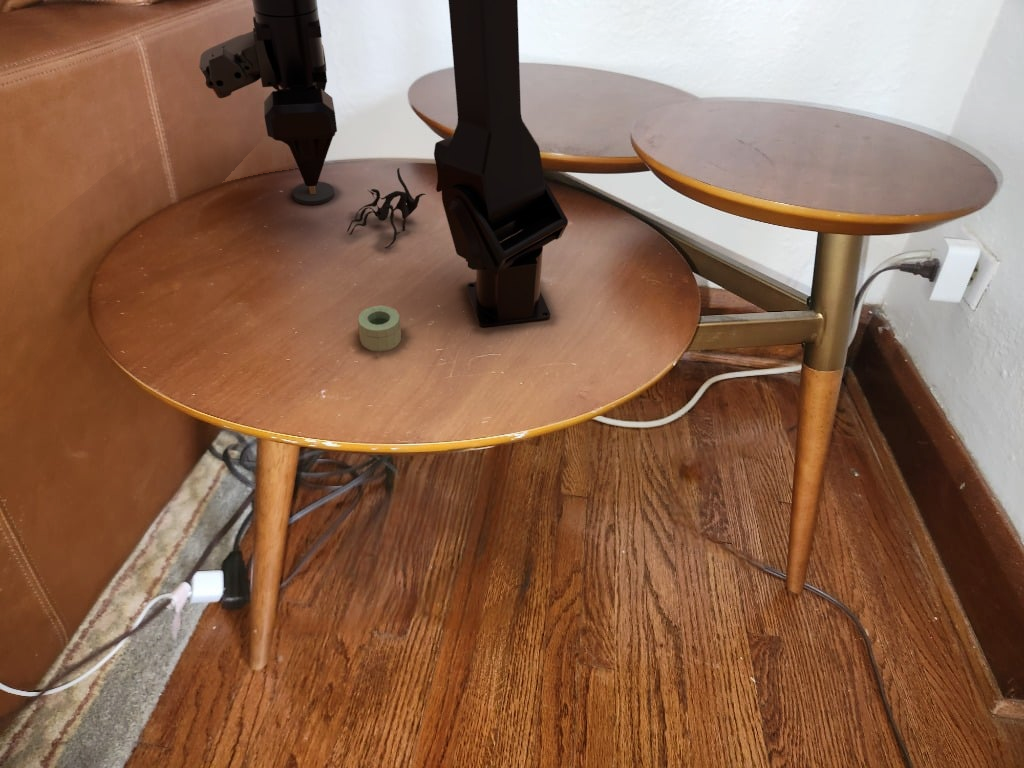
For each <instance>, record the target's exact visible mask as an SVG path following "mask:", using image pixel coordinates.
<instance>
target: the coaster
mask: <svg viewBox="0 0 1024 768" xmlns="http://www.w3.org/2000/svg"><path fill="white" fill-rule="evenodd" d="M315 191H316V194H310V190H309V187H308V186H306V185H305V183H301V184H298V185H296V186H295V187H294V188H293V190H292V199H294V201H295V202H296V203H299V204H302V205H306V206H317V205H318V206H319V205H322V204H326V203H328V202H330V201H331V200H333V198H334V197H335V195H336V194H335V188H334V187H333V185H331V184H330V183H327V182H325V181H318V184H317V185H316V186H315Z"/></svg>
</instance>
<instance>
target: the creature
mask: <svg viewBox="0 0 1024 768" xmlns="http://www.w3.org/2000/svg"><path fill="white" fill-rule="evenodd" d="M396 174H397V175H396V176H397V179H398V181H399V183H400V184H401V186H402V187H403V190H404V191H401V190H395V191H392V192H390V193H388V194H386V195H385V196H384V197H381V193H380V191H379V189H375V188H372V189H370V190H369V189H367V191H368V192H369V194H371V195H372V197H373V199H374V201H372V202H371V203H368V204H366V205H363V206H362V207H361V208H359V209H358V211H357V212H356V213H355V216H354V219H353V220H351V222H350V223H349V225H348V227H347V230H346V232H349V231H350V229H351V227H352V224H353V223H354V222H358V223H356V224H354V226H353V228H352V230H351V231H350V233H349V236H351V235H352V234H353V233H354V230H355V228H356V227H358V226H359V227H366V226H367V221H368V218H369V215H371V214H374V216H375V217H376V218H377V219H378V220H379V221H381V222H384V221H386V220H387V219H388V216H389V219H390V220H389V221H390V225H391V226H392V230H393V239H392V241H391V242H390V244H389V245H386V246H385V247H384V249H388V248H390V247H391V246H393V244H394V243H395V242H396V240H397V235H398V234H400V233H401V232H406V220H407V218H408V217H409V216H410V215H411V214H412V213H413V212H414V211H415V210H416V209H417V208H418V206H419V201H420V197H422V196H426V195H427V194H426V193H419V194H418V195H416V196H415V197H414V198H413V196H412V195H411V193H410V191H409V188H408V187H407V184H406V183H405V182H404V180H403V178H402V176H401V171H400V168H399V167H398V168H397V169H396ZM374 195H375V196H374ZM375 197H376V198H375ZM397 197H399V199H398V202H397V203H396V205H395V207H394V205H393V204H391V202H392V201H393V200H394V199H395V198H397ZM380 200H384V201H383V203H382V205H381V206H380V207H379V204H378V203H379V201H380ZM372 207H374V208H375V207H376V208H377V210H375V209H373V208H372ZM368 209H370V211H368V212H366V211H367V210H368ZM396 210H399V211H400V212H401V218H402V219H403V222H402V223H401V224H402V225H401V231H398V229H397V227H396V225H395V223H394V215H395V211H396ZM359 212H361V213H360V216H359V218H357V216H358V214H359ZM389 214H390V215H389ZM362 221H363V222H362ZM359 222H361V223H359Z"/></svg>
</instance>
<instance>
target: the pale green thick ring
mask: <svg viewBox="0 0 1024 768" xmlns="http://www.w3.org/2000/svg"><path fill="white" fill-rule="evenodd" d="M357 326H358V334H359V342H360V344H361V346H362V347H364V349H366V350H369V351H373V352H387V351H390V350H392V349H394V348H396V347H397V346H398V345H399V344H400V342H401V340H402V330H401V329H402V328H401V316H400V313H398V311H397V310H396V309H395V308H393V307H391V306H388V305H382V304H381V305H373V306H370V307H367V308H365V309H363V310H362V311H361V312H360V313H359V314H358V318H357Z"/></svg>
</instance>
